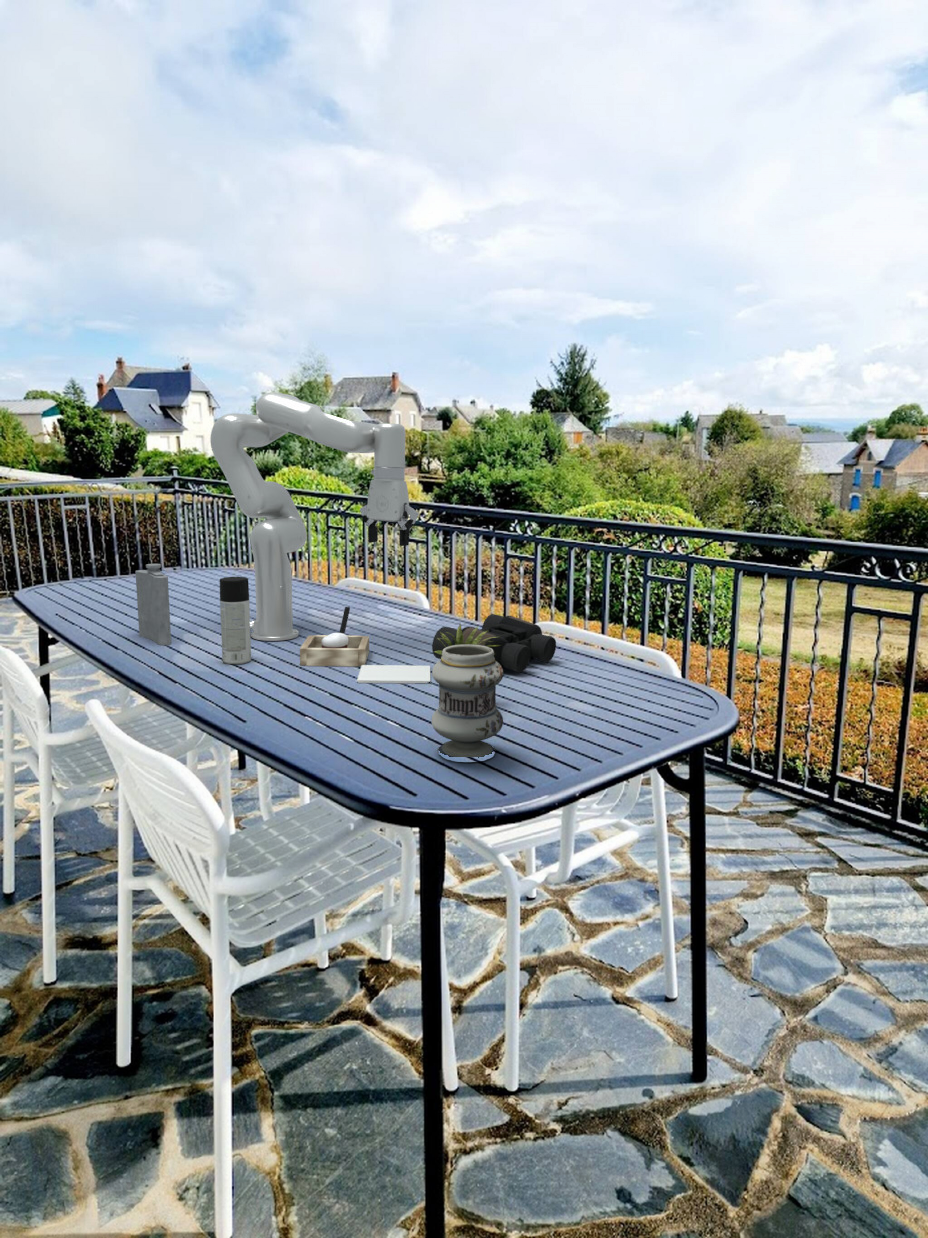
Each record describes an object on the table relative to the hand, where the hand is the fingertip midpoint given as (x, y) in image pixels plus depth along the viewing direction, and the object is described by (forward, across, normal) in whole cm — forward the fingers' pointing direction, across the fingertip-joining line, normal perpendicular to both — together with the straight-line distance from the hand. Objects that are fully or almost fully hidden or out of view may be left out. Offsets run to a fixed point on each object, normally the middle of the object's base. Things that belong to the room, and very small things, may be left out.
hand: (388, 543), depth 201 cm
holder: (+27, -4, -16) cm, 32 cm away
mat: (+27, +17, -20) cm, 37 cm away
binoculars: (+27, +31, +5) cm, 41 cm away
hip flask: (+28, -55, -28) cm, 67 cm away
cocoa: (+27, -4, -16) cm, 32 cm away
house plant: (+27, +40, -30) cm, 57 cm away
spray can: (+28, -21, -32) cm, 47 cm away
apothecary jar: (+27, +55, -52) cm, 80 cm away
